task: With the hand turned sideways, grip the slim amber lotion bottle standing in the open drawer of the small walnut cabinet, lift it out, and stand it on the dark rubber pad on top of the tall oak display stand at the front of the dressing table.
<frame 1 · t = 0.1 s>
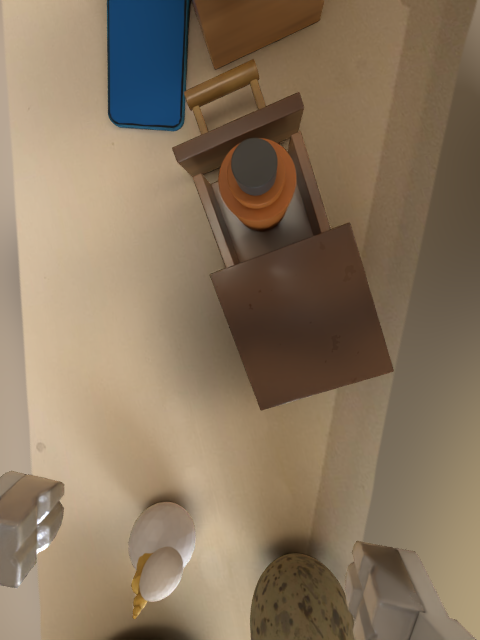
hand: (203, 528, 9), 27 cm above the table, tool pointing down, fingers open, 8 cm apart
smartphone: (150, 42, 31), on the table
cabinet: (295, 307, 34), on the table
drawer: (251, 176, 28), point 4 cm above the table, slide at 9.0 cm, touching lotion bottle
decorative egg: (296, 563, 41), on the table
lotion bottle: (261, 205, 30), point 2 cm above the table, touching drawer
perfume bottle: (173, 506, 41), on the table
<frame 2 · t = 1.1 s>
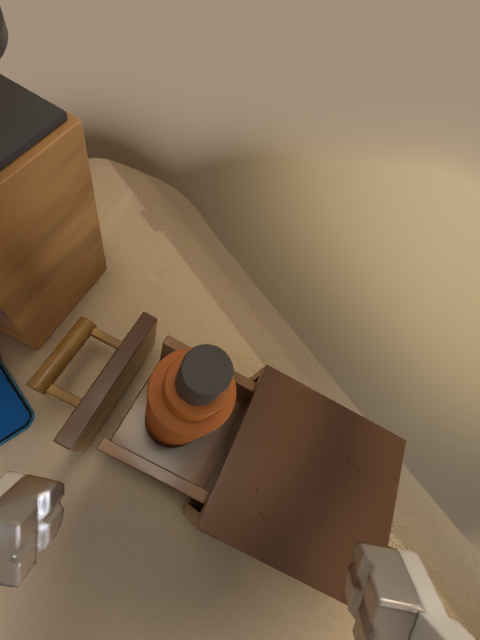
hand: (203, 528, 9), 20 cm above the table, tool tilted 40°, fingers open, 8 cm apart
cabinet: (275, 475, 29), on the table
drawer: (149, 401, 25), point 4 cm above the table, slide at 9.0 cm, touching lotion bottle
lotion bottle: (173, 418, 27), point 2 cm above the table, touching drawer
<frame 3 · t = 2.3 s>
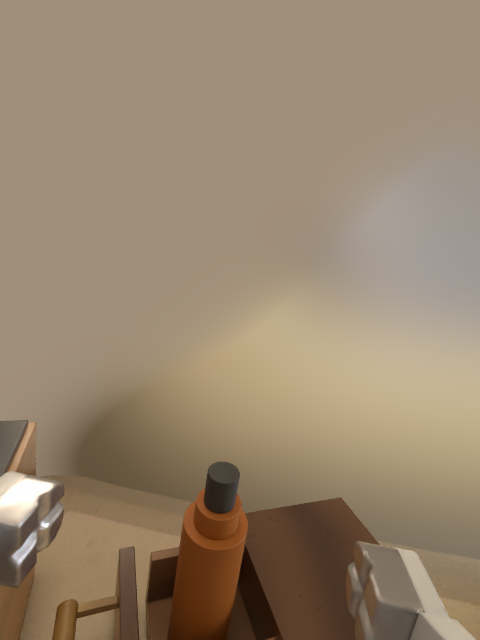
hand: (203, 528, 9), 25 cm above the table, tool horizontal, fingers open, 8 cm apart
cabinet: (305, 623, 30), on the table
drawer: (168, 632, 25), point 4 cm above the table, slide at 9.0 cm, touching lotion bottle
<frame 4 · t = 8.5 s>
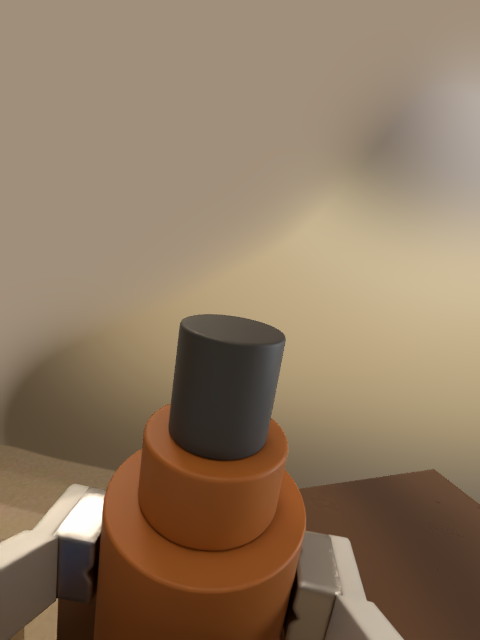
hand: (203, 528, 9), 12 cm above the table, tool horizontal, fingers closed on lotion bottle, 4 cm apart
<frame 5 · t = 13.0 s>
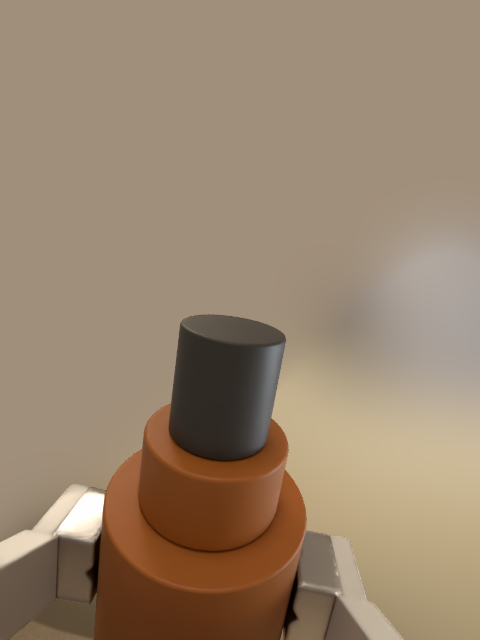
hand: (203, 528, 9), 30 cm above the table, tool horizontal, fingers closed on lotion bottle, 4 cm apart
when the fingers open (26 cm above the table, at t = 17.8 s): lotion bottle stays where it is, resting on display stand.
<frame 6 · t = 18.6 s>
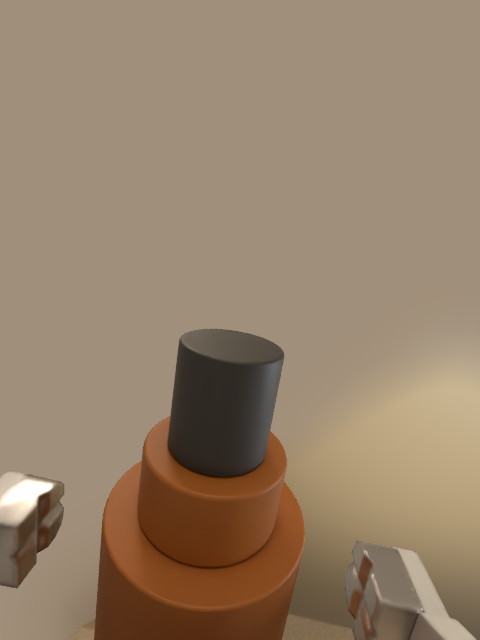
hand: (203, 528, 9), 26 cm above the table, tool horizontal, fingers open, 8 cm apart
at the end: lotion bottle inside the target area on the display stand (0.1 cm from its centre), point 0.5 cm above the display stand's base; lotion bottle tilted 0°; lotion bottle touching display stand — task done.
